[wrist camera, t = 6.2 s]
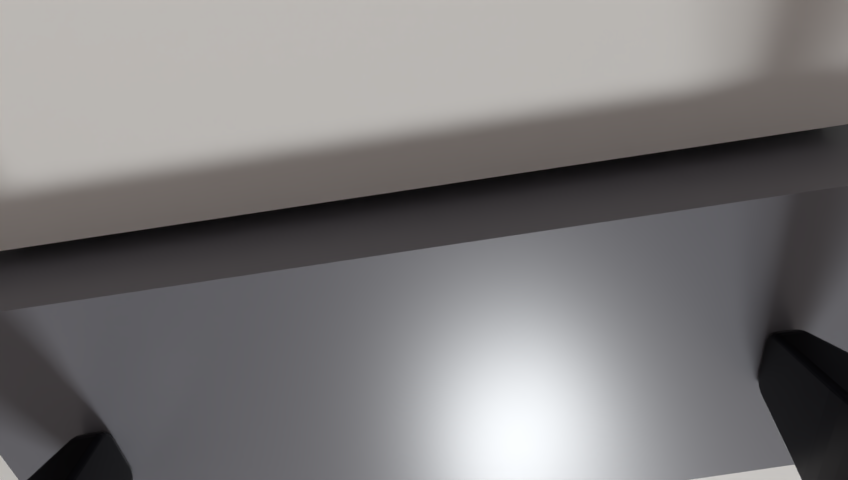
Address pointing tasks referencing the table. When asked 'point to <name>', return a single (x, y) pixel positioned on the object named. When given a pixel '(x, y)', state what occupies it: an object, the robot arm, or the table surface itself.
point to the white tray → (377, 99)
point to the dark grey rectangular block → (442, 325)
